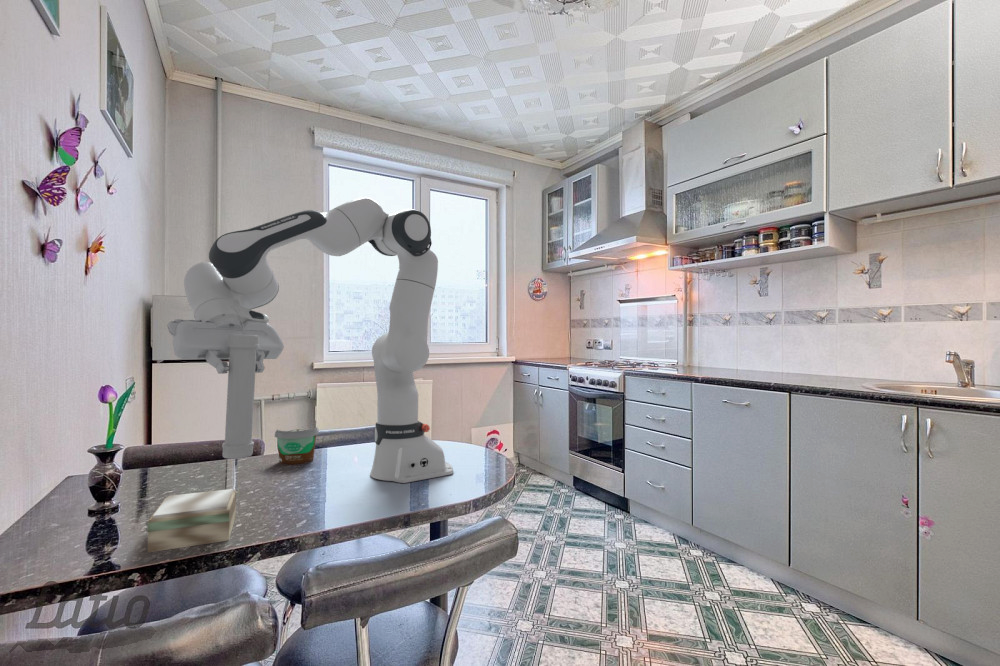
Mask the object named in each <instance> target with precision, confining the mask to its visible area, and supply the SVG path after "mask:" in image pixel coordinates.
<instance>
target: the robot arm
mask: <svg viewBox="0 0 1000 666" xmlns="http://www.w3.org/2000/svg"><path fill="white" fill-rule="evenodd" d="M431 237H432V229H431V224H430V221H429V219H428V217H427V215H426V214H424V213H423V212H421V211H420V210H417V209H412V208H411V209H410V208H406V209H402V210H400V211H397V212H394V213H390V214H388V213H386V212H385V211H384V209H383V208H382V206H381V205H380V204H379V203H378V202H377V200H374V198H371V197H368V196H365V197H359V198H355V199H352V200H350V201H347V202H345V203H343V204H340V205H338V206H336V207H334V208H333V209H330V210H327V211H324V212H320V211H318V210H315V209H314V210H313V209H308V210H307V209H306V210H303V211H299V212H296V213H292V214H289V215H285V216H284V217H280V218H277V219H275V220H272V221H268V222H265V223H262V224H259V225H258V226H254V227H250V228H247V229H242V230H236V231H231V232H228V233H225V234H222V235H221V236H219V237H218V238H217V239H215V241H214V242H213V244H212V245H211V247H210V249H209V253H208V259H209V261H210V262H209V261H204V262H198V263H196V264H194V265H192V266H191V267H190V268H189V269H188V270H187V271H186V273H185V275H184V279H183V285H184V292H185V295H186V298H187V302H188V303H189V304H188V305H189V306H190V308H191V310H193V315H194V317H193V318H194V319H181V318H179V319H174V320H172V321H169V322H168V323H167V331H168V333H169V334H170V335H171V336H172V347H173V352H174V355H175V357H177V358H179V359H181V360H205V361H206V363H208V364H209V365H211V366H212V367H213V368H214V369H216V372H217V374H219V375H222V374H223V375H225V374H228V371H229V362H228V361H222V360H229V350H230V347H227V344H228V338H229V335H230V334H240V335H243V326H242V322H241V319H242V321H243V325H244V335H257V336H258V345H259V348H256V367H255V374H257V373H258V374H259V373H263V372H264V370H265V368H266V367H265V363H264V360H277V359H278V358H279V357H280V356H281V354H282V352H283V350H284V346H285V345H284V342H283V340H282V338H281V337H280V335H279V333H278V331H277V329H276V328H275V327H274V326H273V325H271V324H269V322H270V317H269V316H268V315H267V314H265V313H262V312H259V311H255V310H254V309H257V308H260V307H263V306H266V305H268V304H269V303H271V302H272V301H273V300H274V299H275V298H276V296H278V293H279V291H280V289H279V288H280V286H279V282H278V280H277V278H276V276H275V274H274V271H273V270H272V268H271V266H270V264H269V261H268V260H267V256H268V254H269V253H270V252H271V251H273V250H275V249H278V248H280V247H283V246H286V245H288V244H291V243H293V242H296V241H298V240H308V241H310V243H312V245H314V246H315V248H317V249H318V250H319V251H321V252H322V253H324V254H326V255H329V256H332V257H341V256H345V255H348V254H349V253H351V252H353V251H355V250H356V249H358V248H360V246H362V245H364V244H366V243H367V242H368V243H369V244H370V245H371V246H372V247H373V249H374V250H375V251H377V252H378V253H380V254H381V255H382V256H387V257H395V256H397V258H398V259H397V260H398V264H399V265H398V272H397V276H396V279H395V283H394V286H393V291H392V295H391V299H390V303H389V307H388V308H389V327H388V332H386V333H384V334H382V335H381V336H379V337H378V338H377V339H376V340H375V342H374V343H373V345H372V347H371V356H372V360H373V367H374V376H375V377H374V378H375V383H376V394H377V396H376V397H377V401H376V402H377V409H376V411H377V414H376V415H377V416H376V418H377V419H376V422H375V428H374V441H375V448H374V449H375V450H374V456H373V461H372V465H371V470H370V473H369V476H370V477H371V478H373V479H376V480H380V481H388V482H395V483H401V484H407V483H410V482H411V483H413V482H416V481H422V480H427V479H429V480H430V479H433V478H438V477H439V478H440V477H445V476H449V475H452V474H453V473H454V468H453V466H452V464H450V463H449V462H447V461H446V459H445V457H446V456H445V452H444V450H443V448H442V447H441V446H440V445H438V444H437V443H436V441H434V440H433V439H431V438H429V437H428V436H427V435H425V433H428V432H429V431H430V430H431V427H430V426H431V425H430V426H429V424H428V423H423V422H421V421H420V420H419V392H418V388H417V385H416V382H415V378H414V372H416V371H418V370H421V369H422V368H423V367H425V366H426V364H427V362H428V361H429V357H430V347H429V345H428V329H429V328H428V327H429V324H428V323H429V316H430V315H429V314H430V311H431V306H432V302H433V298H434V293H435V290H436V284H437V278H438V272H439V271H438V269H439V268H438V267H439V260H438V256H437V255H436V253H434V252H433V251H432V250H430V249H431V247H432V244H433V243H432V238H431ZM230 306H231V307H233V308H234V309H235V310H236V311H237V312H238V313H239V315H240V317H241V319H240V317H239V315H238V314H237V313H236V311H235V310H234V309H233V308H231V307H230Z"/></svg>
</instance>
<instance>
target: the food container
mask: <svg viewBox="0 0 1000 666" xmlns="http://www.w3.org/2000/svg"><path fill="white" fill-rule="evenodd" d="M319 434H320V431H319V428H318V426H316V427H315V428H314V427H313V428H311V429H300V428H299V429H292V430H287V431H286V430H279V429H276V430H275V431H274V437H275V438H276V439H277V451H278V452H277V453H278V460H279V461H278V463H279V464H280V465H283V466H299V465H300V466H301V465H305V464H308V463H312V462H313V461H314V456H315V448H316V440H317V436H318V435H319Z"/></svg>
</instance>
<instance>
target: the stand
mask: <svg viewBox="0 0 1000 666" xmlns="http://www.w3.org/2000/svg"><path fill="white" fill-rule="evenodd" d="M236 511H237V490H236V489H235V490H234V488H227V489H219V490H210V491H202V492H191V493H182V494H173V495H167V496H166V497H165V498H164V499H163V501H162V502H161V503H160V505H159V506H158V507H157V508H156V510H155V511H154V512H153V514H152V515H151V516H150V517H149V519H148V520H147V521H148V523H147V553H153V552H161V551H167V550H173V549H180V548H188V547H194V546H201V545H208V544H213V543H219V542H227V541H228V542H229V541H230V537H231V534H232V530H233V527H234V523H235V521H236V518H237V514H236V513H237V512H236Z"/></svg>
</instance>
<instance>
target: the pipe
mask: <svg viewBox="0 0 1000 666" xmlns="http://www.w3.org/2000/svg"><path fill="white" fill-rule="evenodd" d="M230 307H231V306H230ZM231 308H233V307H231ZM233 309H234V308H233ZM234 310H235V309H234ZM235 311H236V310H235ZM236 313H237V314H238V315H239V313H238V312H237V311H236ZM239 317H240V315H239ZM240 319H241V317H240ZM241 322H242V326H243V335H240V334H230V335H229V338H228V344H227V347H230V350H229V359H228V366H229V371H227V391H226V392H227V393H226V395H227V396H226V414H225V432H224V433H225V434H224V442H223V443H222V445H221V447H222V458H224V459H229V460H238V459H245V458H249V457H251V456H253V452H254V446H255V442H254V441H253V424H254V405H255V404H254V403H255V383H256V382H255V381H256V373H255V367H256V348H259V345H258V336H257V335H244V325H243V321H242V319H241Z"/></svg>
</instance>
